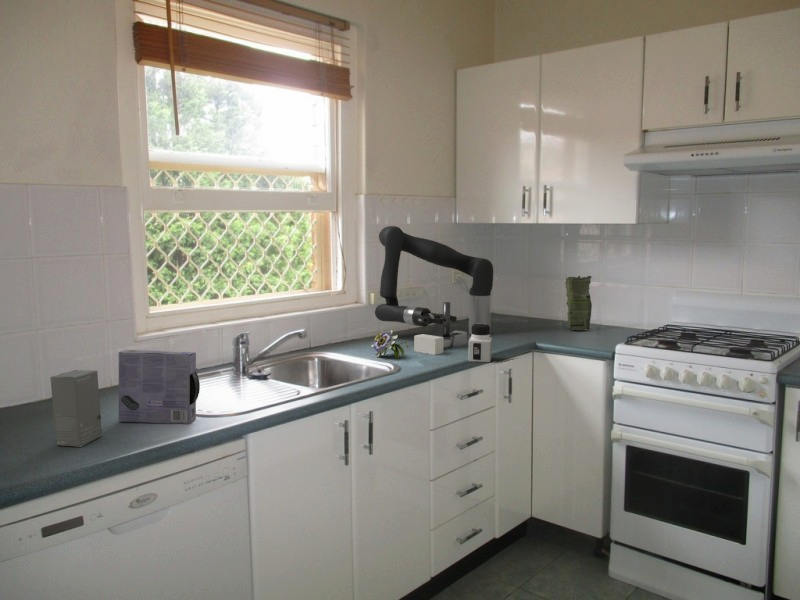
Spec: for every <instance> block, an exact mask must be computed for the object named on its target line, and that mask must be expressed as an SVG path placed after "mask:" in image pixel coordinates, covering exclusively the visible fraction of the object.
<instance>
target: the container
mask: <svg viewBox="0 0 800 600" xmlns="http://www.w3.org/2000/svg"><path fill="white" fill-rule="evenodd" d="M470 335H471V336H470V337H469V338H468V357H467V358H468V360H467V361H468V362H476V363H477V362H479V363H490V362H491V360H492V351H493V349H492V348H493V338H492V337H490V336H491V333H490V326H489V325H487V324H482V323H477V324H474V325H472V334H470Z"/></svg>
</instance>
